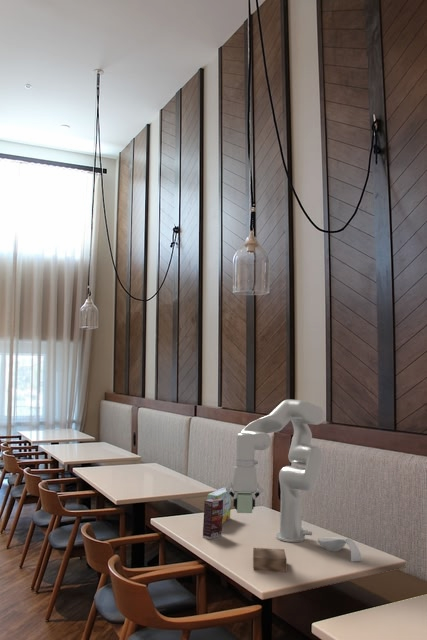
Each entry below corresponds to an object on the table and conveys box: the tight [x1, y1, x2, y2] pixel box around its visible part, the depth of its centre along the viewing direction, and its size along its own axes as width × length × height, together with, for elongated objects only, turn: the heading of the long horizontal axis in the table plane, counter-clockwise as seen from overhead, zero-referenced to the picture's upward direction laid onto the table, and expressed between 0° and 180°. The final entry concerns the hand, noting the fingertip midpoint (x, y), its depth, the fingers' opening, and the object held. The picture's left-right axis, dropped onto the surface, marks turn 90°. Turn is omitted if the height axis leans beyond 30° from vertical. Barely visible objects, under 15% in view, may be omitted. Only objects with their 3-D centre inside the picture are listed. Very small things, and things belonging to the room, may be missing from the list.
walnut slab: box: [252, 547, 288, 573], centre depth 211 cm, size 12×12×5 cm
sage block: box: [235, 492, 253, 514], centre depth 227 cm, size 6×6×7 cm
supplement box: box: [202, 498, 223, 540], centre depth 249 cm, size 9×5×16 cm, turn 143°
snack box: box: [206, 487, 233, 524], centre depth 274 cm, size 21×6×15 cm, turn 159°
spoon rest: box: [317, 536, 362, 563], centre depth 231 cm, size 24×12×7 cm, turn 22°
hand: (244, 508), depth 227 cm, fingers closed on sage block, 6 cm apart
